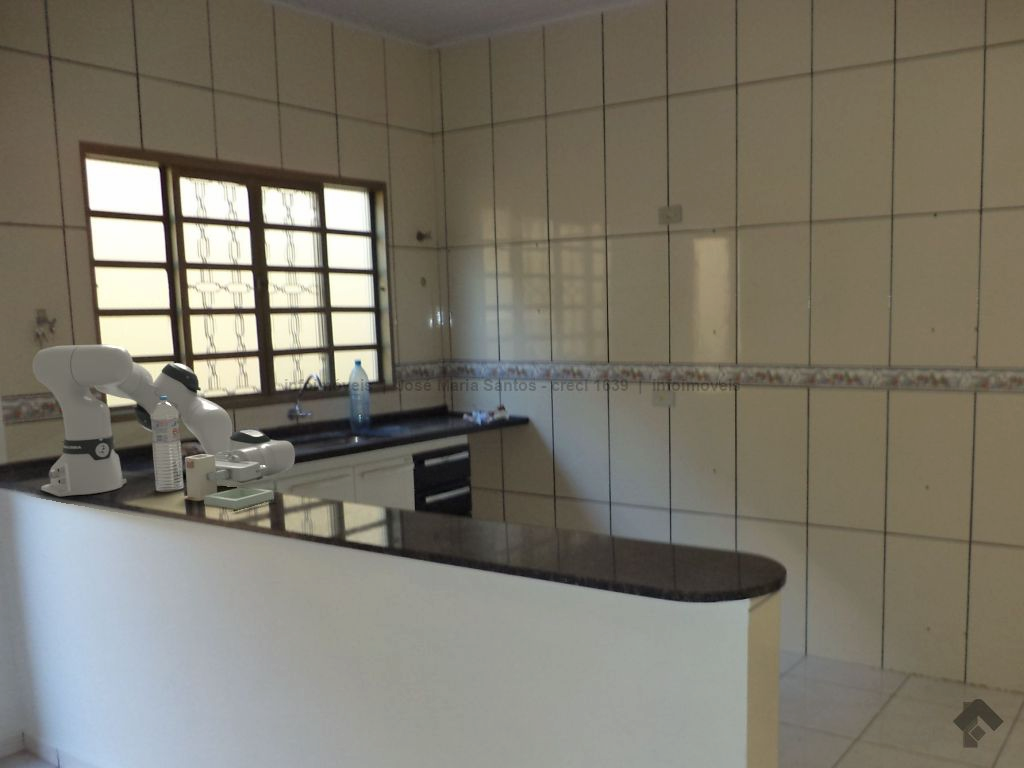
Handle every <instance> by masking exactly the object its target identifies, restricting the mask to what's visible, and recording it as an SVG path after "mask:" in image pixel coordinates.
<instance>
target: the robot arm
mask: <svg viewBox="0 0 1024 768" xmlns="http://www.w3.org/2000/svg"><path fill="white" fill-rule="evenodd" d="M31 367H32V372H33V375H34V377H35V380H37V381H38V382H39V383H40V384H42V385H43V386H45V387H46V388H47V389H48V390H49V391H50V392H51V393H52V394H53V396H54V397H55V399H56V401H57V402H58V404H59V407H60V409H61V413H62V418H63V424H64V434H65V435H64V436H65V439H64V440H63V441H61V443H63V444H61V446H62V453H63V454H62V455H61V456H60V457H59V458H58V459H57V460H56V462H55V463H54V464H53V465H52V466H51V467H50V470H49V471H48V476H49V479H50V483H48V484H44V485H42V486H41V488H40V490H41V491H43V492H46V493H49V494H51V495H54V496H56V497H66V496H67V497H68V496H78V495H79V496H80V495H82V496H83V495H91V494H93V495H94V494H98V493H105V492H110V491H114V490H117V489H120V488H122V487H123V486H124V484H127V479H126V478H123V473H122V468H121V467H122V466H121V461H120V457H119V454H118V453H116V451H115V450H114V449H115V447H116V446H115V443H116V441H115V439H114V435H113V434H112V422H111V411H110V408H109V406H108V404H106V403H105V402H104V401H101V400H100V399H98V398H96V397H95V396H94V395H93V393H92V392H91V390H90V387H94V388H95V390H96V391H98V392H100V393H102V394H107V395H109V396H113V397H117V398H120V399H125V400H126V399H128V400H131V401H134V402H136V405H135V404H133V405H132V409H133V410H134V416H135V418H136V419H135V420H136V421H137V422H138V424H140V425H141V427H142V428H143V429H145V430H146V431H149V432H151V433H152V424H151V418H150V417H151V416H150V413H151V411H152V410H153V408H154V407H155V406H156V405H157V404H159V403H160V399H159V397H161V396H167V402H168V403H170V404H172V405H173V406H174V407H175V408H176V409H177V410H178V413H179V414H178V415H179V416H180V419H181V421H182V423H183V424H184V426H185V427H186V428H187V430H188V431H189V432H191V434H193V435H194V437H196V439H197V440H198V443H200V445H201V447H202V449H203V451H204V454H206V455H215V466H216V472H210V473H207V474H206V477H207V478H206V479H207V480H211V481H212V480H216V481H217V480H226V481H233V482H237V483H241V484H244V483H248V482H251V481H255V480H257V481H258V480H262V479H263V477H264V476H266V477H270V476H273V475H277V474H280V473H282V472H285V471H287V470H289V469H291V468H292V467H294V463H295V462H296V459H295V458H296V451H295V448H294V445H293V444H292V443H291V442H290V441H288V440H275V439H270V437H269V436H267V435H266V434H265V433H264V432H262V431H261V430H260V429H256V428H243V429H239V430H236V431H235V432H233V422H232V419H231V417H230V415H229V414H228V412H227V411H226V410H225V409H224V408H223V407H222V406H220V405H219V404H217V403H215V402H213V401H210V400H208V399H207V398H203V397H201V396H199V395H198V391H199V392H200V391H201V389H202V388H201V387H200V386H199V384H200V383H199V379H198V376H197V374H196V373H195V372H194V371H193V370H192V368H191V367H189V366H187V365H185V364H182V363H178V362H176V363H175V362H169V363H167V364H166V365H165V366H164V367H163V368H162V369H161V372H160V374H159V375H158V376H157V378H156V379H155V380H154V379H153V376H152V374H151V373H150V371H148V369H147V368H145V367H143V366H142V365H141V364H138V363H137V362H135V361H134V360H133V357H132V355H131V354H130V352H129V351H128V349H126V348H125V347H122V346H118V345H111V344H104V343H103V344H78V345H76V344H74V345H56V346H52V347H51V346H50V347H47V348H43V349H41V350H39V351H38V352H37V353H36V354H35V356H34V358H33V361H32V366H31Z"/></svg>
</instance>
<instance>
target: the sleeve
mask: <svg viewBox="0 0 1024 768" xmlns="http://www.w3.org/2000/svg"><path fill="white" fill-rule="evenodd" d="M184 461H185V462H184V463H185V464H184V465H185V475H186V477H185V479H186V492H187V495H186V496H188V497H191V498H198V499H202V498H204V496H207V495H211V494H215V493H218V486H217V485H218V484H217V479H216V480H212V481H211V480H207V479H206V478H207V477H206V474H207V473H210V472H216V466H215V455H206V453H201V454H196V455H190V456H186V457H184Z"/></svg>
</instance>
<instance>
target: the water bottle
mask: <svg viewBox="0 0 1024 768" xmlns="http://www.w3.org/2000/svg"><path fill="white" fill-rule="evenodd" d="M159 399H160V403H159V404H157V405H156V406H155V407H154V408H153V410H152V411H151V413H150V416H151V417H150V418H151V424H152V432H151V434H152V437H151V438H152V455H153V466H154V481H155V489H156V490H155V491H157V492H161V493H163V492H165V493H167V492H174V491H179V490H182V489H184V487H185V485H184V473H183V471H184V470H183V459H182V456H183V455H182V444H181V436H180V425H179V424H180V423H179V417H180V414H179V413H178V410H177V409H176V408H175V407H174V406H173V405H172V404H170V403H168V402H167V396H161V397H159ZM178 414H179V415H178Z"/></svg>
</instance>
